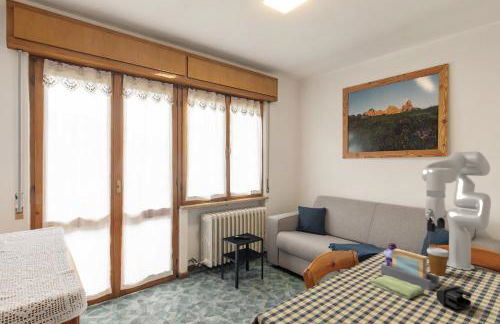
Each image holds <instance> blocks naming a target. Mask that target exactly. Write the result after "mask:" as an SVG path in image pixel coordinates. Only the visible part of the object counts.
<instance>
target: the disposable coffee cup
mask: <svg viewBox="0 0 500 324" xmlns="http://www.w3.org/2000/svg"><path fill="white" fill-rule="evenodd" d="M426 252H427V260H428V265H429V271H430V274H432V275H435V276H445V275H446V272H447V266H448V265H447V260H449V250H447V249H444V248H440V247H434V246H433V247H432V246H431V247H427V249H426Z"/></svg>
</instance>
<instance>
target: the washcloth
mask: <svg viewBox="0 0 500 324" xmlns="http://www.w3.org/2000/svg"><path fill="white" fill-rule="evenodd" d="M370 281H371V283H373V284H372V285H373V286H374V287H377V288H379V289H381V290H383V291H385V292H389V293H391V294H393V295H395V296H398V297H400V298H403V299H405V300H410V299H412V298H416V297H417V296H420V295H423V294H424V292H425V290H424V289H423V288H421V287H420V286H417V285H413V284H410V283H408V282H405V281H402V280H399V279H396V278H394V277H391V276H387V275H385V276H379V277H377V278H372V279H371V280H370Z"/></svg>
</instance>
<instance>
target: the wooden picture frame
mask: <svg viewBox="0 0 500 324" xmlns="http://www.w3.org/2000/svg"><path fill="white" fill-rule="evenodd" d="M392 268H395V269H398V270H401V271H404V272H407V273H410V274H413V275H416V276H419V277H422V278H425V279H427V273H428V256H426V255H425V256H424V255H423V254H417V253H414V252H410V251H407V250H402V249H399V248H397V249H394V250H393V253H392Z"/></svg>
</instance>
